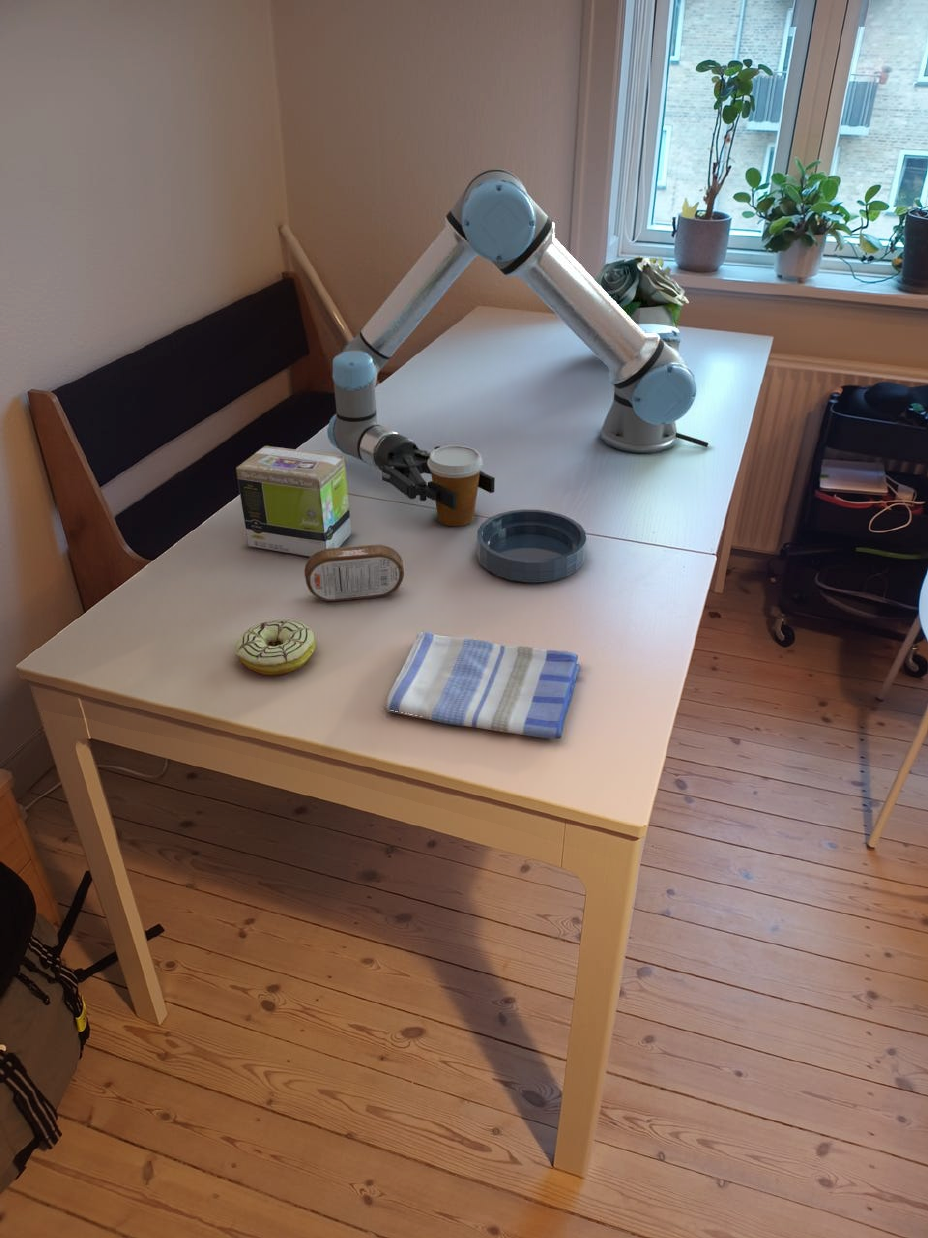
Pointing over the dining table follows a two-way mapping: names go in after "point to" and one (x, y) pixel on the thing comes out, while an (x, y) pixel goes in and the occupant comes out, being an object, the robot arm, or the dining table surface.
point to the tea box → (294, 500)
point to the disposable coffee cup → (456, 481)
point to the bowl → (531, 545)
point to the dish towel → (486, 685)
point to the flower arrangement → (643, 290)
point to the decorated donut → (275, 646)
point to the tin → (354, 572)
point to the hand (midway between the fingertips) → (474, 493)
